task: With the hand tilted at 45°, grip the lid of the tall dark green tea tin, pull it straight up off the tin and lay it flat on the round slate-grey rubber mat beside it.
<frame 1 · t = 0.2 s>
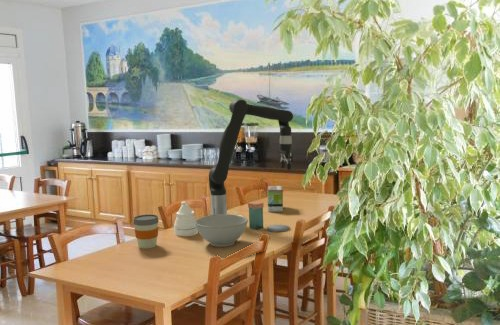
hand: (285, 168, 308), 29 cm above the table, tool pointing down, fingers open, 8 cm apart
decorative bowl: (222, 243, 253), on the table
reusable coffee cup: (147, 246, 252), on the table
honey pot: (186, 233, 275), on the table
tea tin: (256, 227, 281), on the table
tea box: (275, 209, 327), on the table
tin lid: (255, 209, 280), point 10 cm above the table, touching tea tin
slate mat: (278, 229, 278), on the table
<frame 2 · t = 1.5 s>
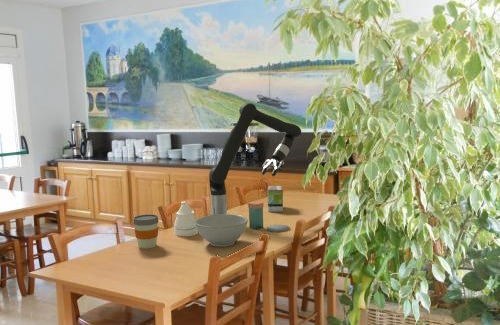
hand: (267, 174, 289), 29 cm above the table, tool tilted 45°, fingers open, 8 cm apart
nothing on the table moved.
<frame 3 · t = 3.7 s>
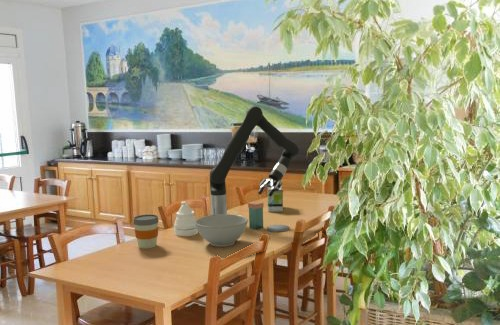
hand: (264, 194, 284), 18 cm above the table, tool tilted 45°, fingers open, 8 cm apart
nothing on the table moved.
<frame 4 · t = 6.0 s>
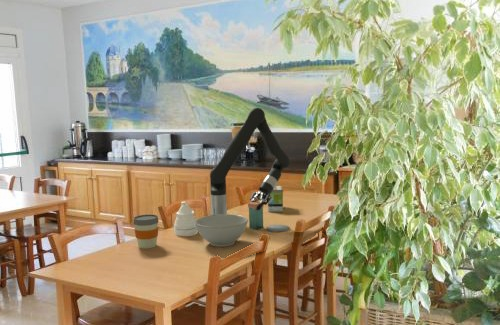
hand: (253, 208, 279), 12 cm above the table, tool tilted 45°, fingers closed on tin lid, 6 cm apart
tin lid: (255, 209, 280), point 11 cm above the table, touching gripper, tea tin
everything else where it was.
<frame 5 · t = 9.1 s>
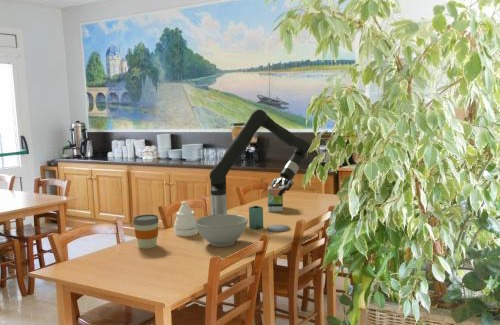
hand: (275, 194, 274), 20 cm above the table, tool tilted 45°, fingers closed on tin lid, 6 cm apart
tin lid: (277, 196, 275), point 19 cm above the table, touching gripper
everything else where it was.
when the fingers open (4 cm above the table, at t = 12.4 s): tin lid drops 3 cm, resting on slate mat.
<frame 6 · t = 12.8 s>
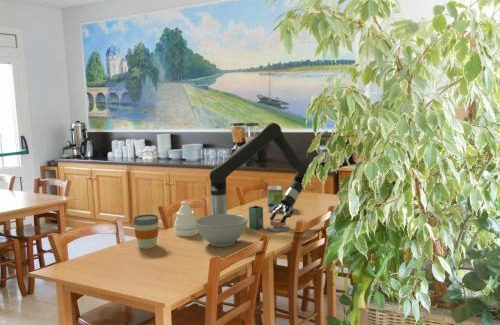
hand: (276, 221, 276), 5 cm above the table, tool tilted 45°, fingers open, 8 cm apart
tin lid: (278, 227, 278), point 1 cm above the table, touching slate mat
everything else where it was.
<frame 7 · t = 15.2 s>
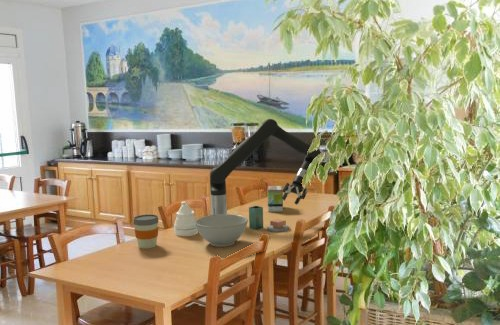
hand: (289, 201, 286), 13 cm above the table, tool tilted 40°, fingers open, 8 cm apart
nothing on the table moved.
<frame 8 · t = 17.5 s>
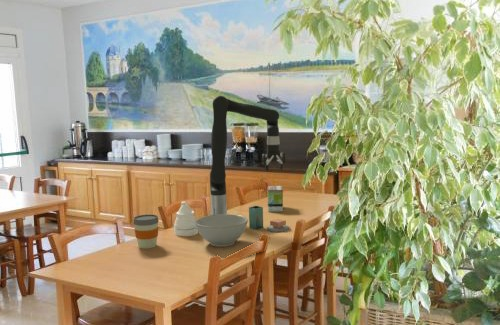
hand: (273, 170, 295), 30 cm above the table, tool pointing down, fingers open, 8 cm apart
nothing on the table moved.
at the end: tin lid inside the target area on the slate mat (0.2 cm from its centre), point 0.8 cm above the slate mat's base; tin lid tilted 0°; tin lid touching slate mat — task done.
